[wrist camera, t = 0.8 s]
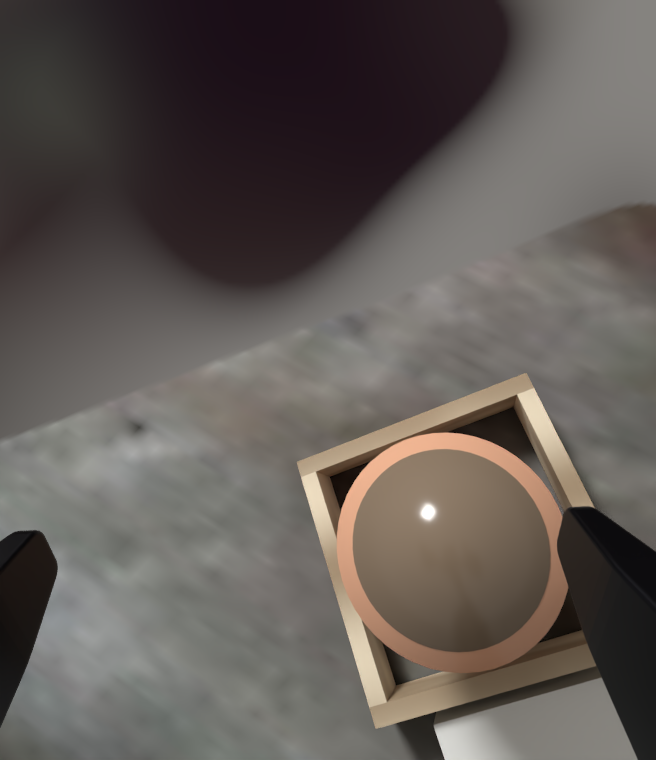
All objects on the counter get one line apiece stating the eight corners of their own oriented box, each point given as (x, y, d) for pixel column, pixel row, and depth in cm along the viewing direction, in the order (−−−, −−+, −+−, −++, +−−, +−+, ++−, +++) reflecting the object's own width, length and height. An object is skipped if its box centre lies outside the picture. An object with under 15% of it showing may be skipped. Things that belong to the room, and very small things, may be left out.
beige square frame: (644, 634, 19) (664, 646, 17) (386, 709, 20) (375, 729, 18) (521, 387, 22) (526, 372, 20) (312, 467, 24) (296, 462, 22)
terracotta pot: (566, 594, 20) (618, 632, 12) (414, 642, 21) (379, 702, 13) (497, 444, 22) (507, 400, 15) (363, 493, 23) (309, 475, 16)
